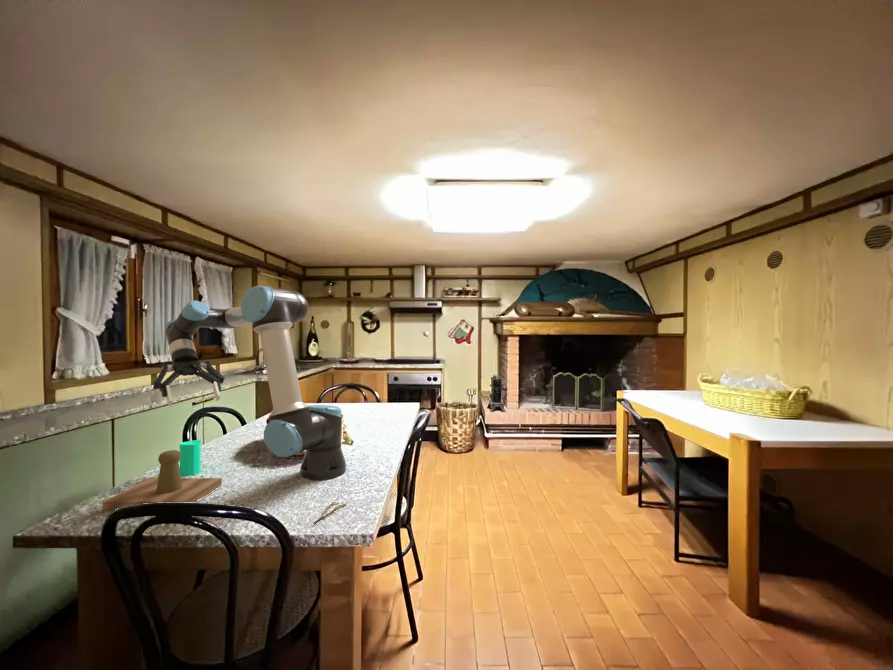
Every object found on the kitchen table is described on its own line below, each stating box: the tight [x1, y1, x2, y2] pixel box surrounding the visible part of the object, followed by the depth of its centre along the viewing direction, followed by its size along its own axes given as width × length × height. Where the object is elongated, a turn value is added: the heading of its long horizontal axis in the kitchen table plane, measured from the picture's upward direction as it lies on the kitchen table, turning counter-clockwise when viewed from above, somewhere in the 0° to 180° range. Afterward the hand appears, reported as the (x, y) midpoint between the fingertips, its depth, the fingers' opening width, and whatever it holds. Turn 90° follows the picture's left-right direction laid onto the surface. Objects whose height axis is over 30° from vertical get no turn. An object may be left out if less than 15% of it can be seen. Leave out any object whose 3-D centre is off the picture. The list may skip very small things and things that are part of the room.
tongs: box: [313, 501, 347, 526], centre depth 96 cm, size 4×13×2 cm, turn 170°
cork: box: [156, 449, 182, 494], centre depth 105 cm, size 6×6×11 cm
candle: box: [179, 437, 202, 477], centre depth 124 cm, size 6×6×12 cm
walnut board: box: [102, 477, 223, 512], centre depth 105 cm, size 22×16×2 cm
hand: (195, 400), depth 121 cm, fingers open, 13 cm apart
